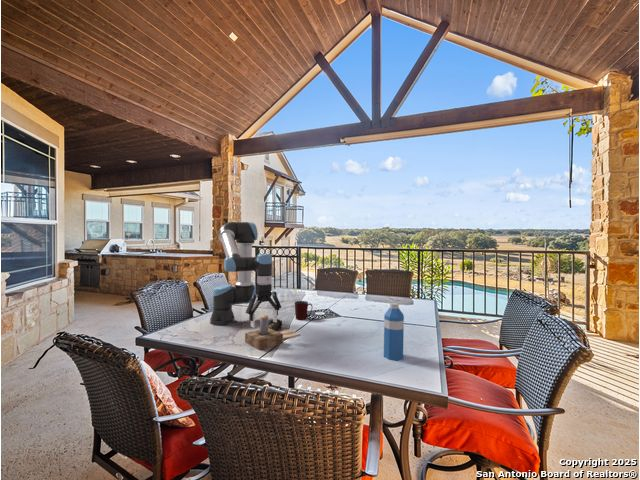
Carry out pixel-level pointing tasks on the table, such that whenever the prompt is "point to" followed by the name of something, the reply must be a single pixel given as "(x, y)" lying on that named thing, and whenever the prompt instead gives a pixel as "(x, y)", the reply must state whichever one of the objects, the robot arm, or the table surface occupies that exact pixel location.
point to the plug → (264, 325)
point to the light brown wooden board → (288, 334)
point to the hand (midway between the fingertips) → (264, 324)
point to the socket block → (263, 339)
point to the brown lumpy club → (275, 324)
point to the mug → (301, 310)
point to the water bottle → (393, 333)
